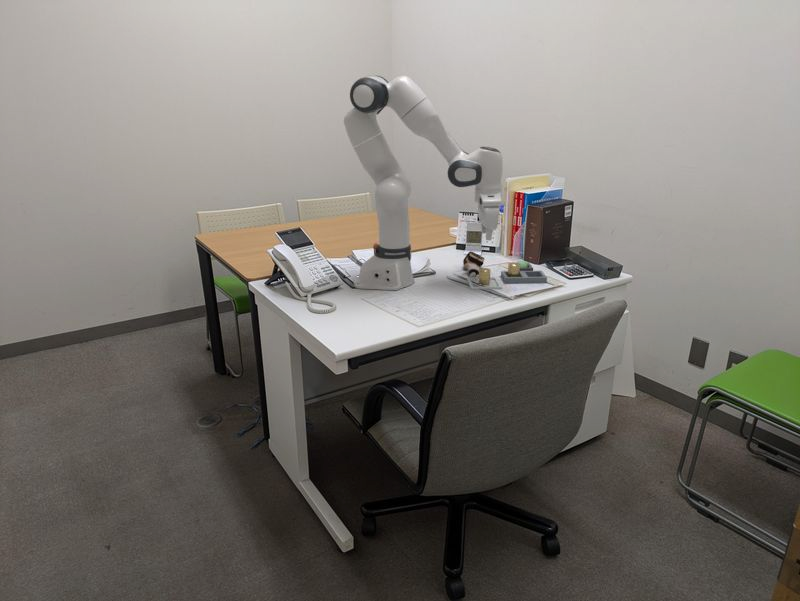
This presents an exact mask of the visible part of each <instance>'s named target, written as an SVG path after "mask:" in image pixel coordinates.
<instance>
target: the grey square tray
mask: <svg viewBox="0 0 800 601" xmlns="http://www.w3.org/2000/svg"><path fill="white" fill-rule="evenodd" d="M471 279H479V277H471V278H470V277H466V280H467V283H468V285H469V289H470V290H503V286H502V283H501V282H500V280H499V278H498V277H497V276H490V281H493V280H494V282H495V284H496V285H497V286H490V285H488V286H474V284H473V282H472V280H471Z"/></svg>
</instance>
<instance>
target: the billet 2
mask: <svg viewBox="0 0 800 601" xmlns="http://www.w3.org/2000/svg"><path fill="white" fill-rule="evenodd" d="M519 269H520V264H519V263H517V262H514V261H513V262H512V261H511V262H508V267H507V271H508V277H519Z"/></svg>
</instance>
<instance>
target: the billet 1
mask: <svg viewBox="0 0 800 601" xmlns="http://www.w3.org/2000/svg"><path fill="white" fill-rule="evenodd" d="M490 277H491V269H490V268H488V267H482V268H481V267H480V269H479V280H478V285H479V284H481V285H488V286H490V285H489V284H491V280H490ZM481 285H480V286H481Z"/></svg>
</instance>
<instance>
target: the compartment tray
mask: <svg viewBox="0 0 800 601" xmlns="http://www.w3.org/2000/svg"><path fill="white" fill-rule="evenodd" d="M499 278H500V280H501V281H502V283H503V285H518V284H519V285H524V284H525V285H529V284H530V285H533V284H534V285H535V284H539V285H540V284H549V282H548V276H547V275H546V274H545V273H544V272H543V270H533V271H519V277H508V270H501V271H500V275H499Z"/></svg>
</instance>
